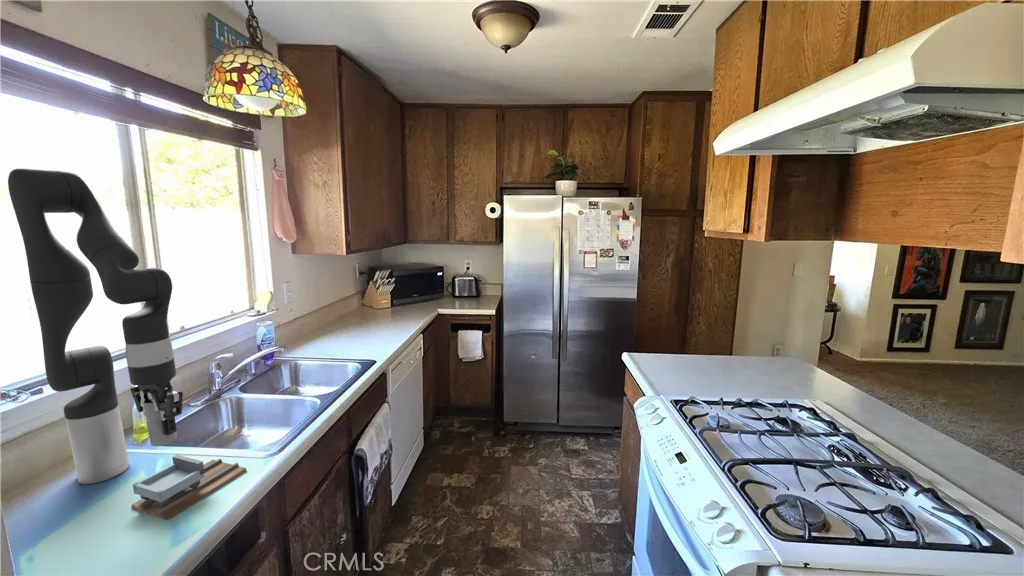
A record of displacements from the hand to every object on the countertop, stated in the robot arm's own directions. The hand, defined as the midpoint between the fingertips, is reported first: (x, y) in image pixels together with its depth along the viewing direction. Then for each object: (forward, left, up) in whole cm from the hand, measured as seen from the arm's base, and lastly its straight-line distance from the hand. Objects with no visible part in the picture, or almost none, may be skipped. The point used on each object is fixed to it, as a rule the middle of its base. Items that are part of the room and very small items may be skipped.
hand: (162, 431), depth 89 cm
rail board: (0, +4, -17) cm, 18 cm away
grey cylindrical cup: (0, 0, -3) cm, 3 cm away
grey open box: (0, 0, -15) cm, 15 cm away
